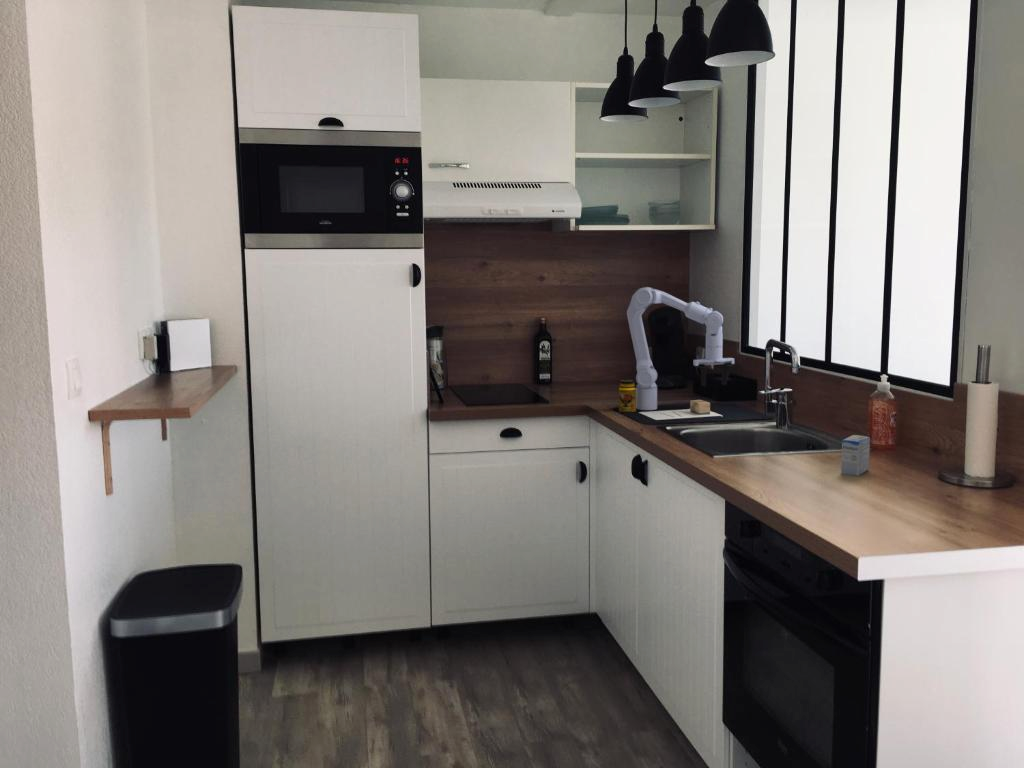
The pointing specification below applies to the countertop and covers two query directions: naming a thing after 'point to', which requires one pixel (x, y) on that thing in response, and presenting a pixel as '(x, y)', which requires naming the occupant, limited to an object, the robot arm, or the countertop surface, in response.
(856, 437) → the medicine box
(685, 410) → the board
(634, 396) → the condiment
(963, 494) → the countertop surface
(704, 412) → the cork block
